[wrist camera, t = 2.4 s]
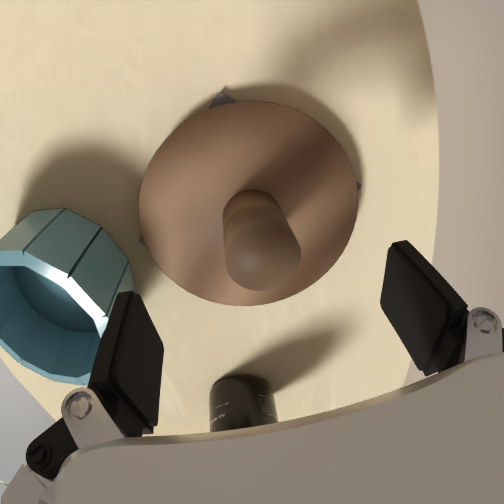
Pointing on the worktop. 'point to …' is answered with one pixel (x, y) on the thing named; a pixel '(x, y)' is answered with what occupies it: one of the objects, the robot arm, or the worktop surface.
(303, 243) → the walnut lid
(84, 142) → the worktop surface
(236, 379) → the supplement bottle
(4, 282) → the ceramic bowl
